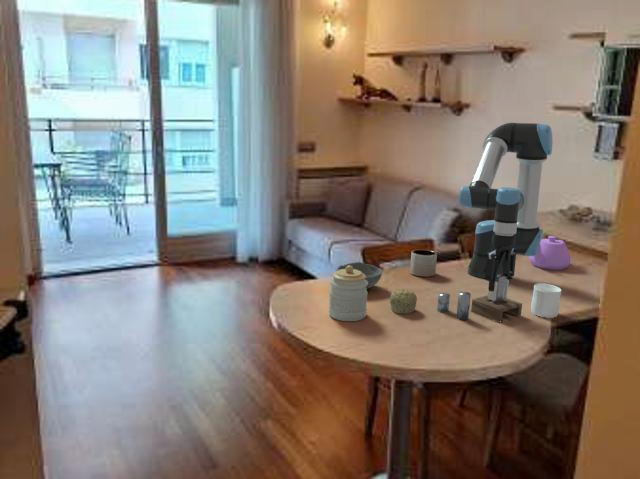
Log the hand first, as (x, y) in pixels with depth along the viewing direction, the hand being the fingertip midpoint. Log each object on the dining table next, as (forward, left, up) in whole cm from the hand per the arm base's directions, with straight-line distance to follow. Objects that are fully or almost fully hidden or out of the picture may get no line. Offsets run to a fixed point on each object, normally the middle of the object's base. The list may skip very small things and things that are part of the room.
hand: (497, 297), depth 207 cm
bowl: (+24, -47, -6) cm, 53 cm away
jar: (+46, -26, -6) cm, 53 cm away
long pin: (0, 0, -6) cm, 6 cm away
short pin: (+14, -12, -6) cm, 19 cm away
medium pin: (+14, -3, -6) cm, 15 cm away
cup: (-15, +9, -6) cm, 19 cm away
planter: (-12, -48, -6) cm, 50 cm away
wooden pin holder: (0, 0, -6) cm, 6 cm away
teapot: (-72, -28, -6) cm, 77 cm away
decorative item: (+26, -20, -6) cm, 33 cm away
